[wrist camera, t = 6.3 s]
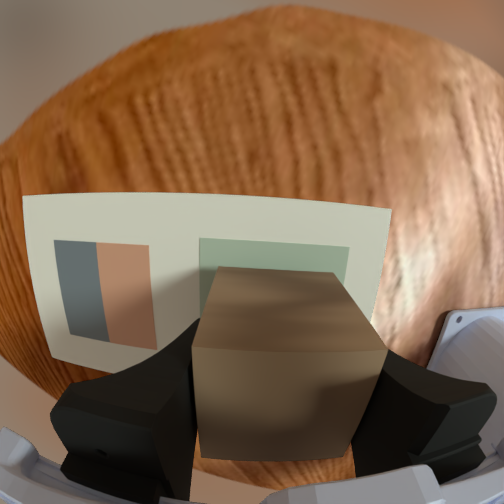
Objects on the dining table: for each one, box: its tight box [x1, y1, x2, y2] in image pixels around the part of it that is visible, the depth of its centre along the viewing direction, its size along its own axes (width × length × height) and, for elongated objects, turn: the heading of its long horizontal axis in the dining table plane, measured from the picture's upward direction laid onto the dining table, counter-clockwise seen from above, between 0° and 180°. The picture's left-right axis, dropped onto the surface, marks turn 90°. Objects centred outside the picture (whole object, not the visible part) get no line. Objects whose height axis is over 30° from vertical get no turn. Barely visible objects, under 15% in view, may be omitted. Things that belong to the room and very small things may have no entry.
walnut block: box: [192, 266, 388, 461], centre depth 10 cm, size 5×5×6 cm
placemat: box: [23, 192, 392, 373], centre depth 14 cm, size 20×11×1 cm, turn 87°
